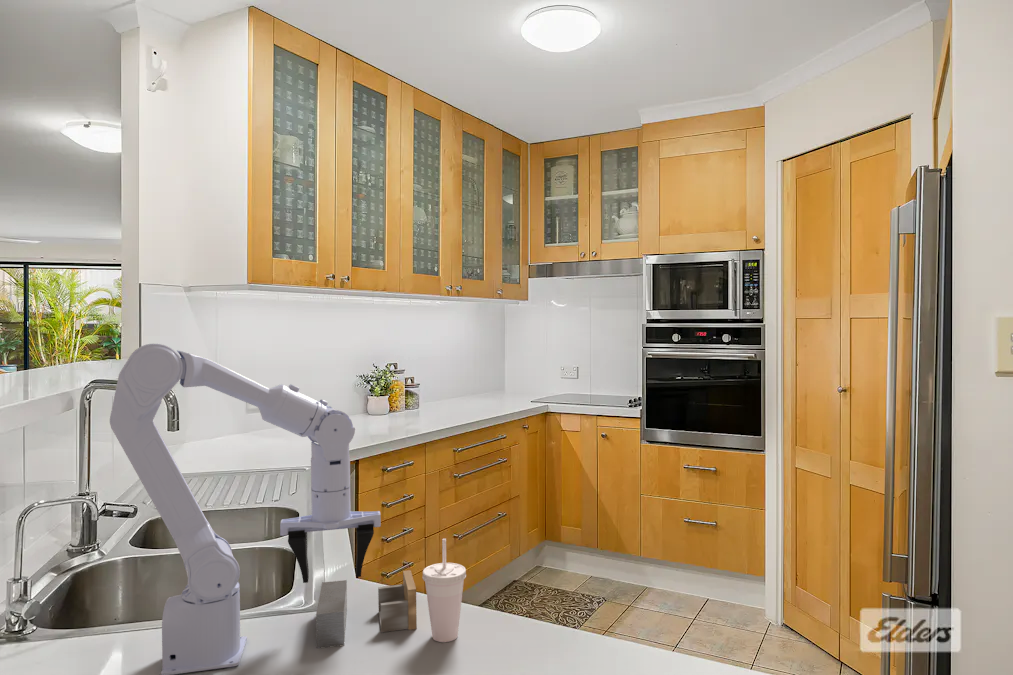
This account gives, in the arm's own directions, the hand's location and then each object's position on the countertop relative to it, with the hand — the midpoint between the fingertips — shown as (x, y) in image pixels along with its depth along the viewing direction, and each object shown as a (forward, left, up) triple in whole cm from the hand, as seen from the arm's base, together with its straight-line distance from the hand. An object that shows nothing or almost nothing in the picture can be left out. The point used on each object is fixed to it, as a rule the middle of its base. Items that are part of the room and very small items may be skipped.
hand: (332, 577), depth 96 cm
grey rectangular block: (0, 0, -8) cm, 8 cm away
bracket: (+9, 0, -8) cm, 12 cm away
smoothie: (+16, -8, -8) cm, 19 cm away
